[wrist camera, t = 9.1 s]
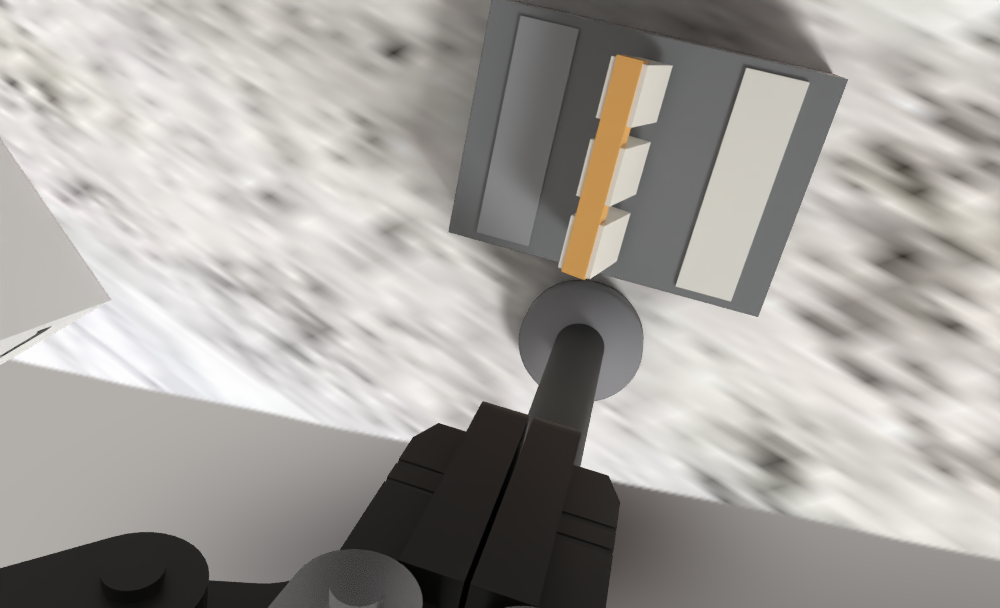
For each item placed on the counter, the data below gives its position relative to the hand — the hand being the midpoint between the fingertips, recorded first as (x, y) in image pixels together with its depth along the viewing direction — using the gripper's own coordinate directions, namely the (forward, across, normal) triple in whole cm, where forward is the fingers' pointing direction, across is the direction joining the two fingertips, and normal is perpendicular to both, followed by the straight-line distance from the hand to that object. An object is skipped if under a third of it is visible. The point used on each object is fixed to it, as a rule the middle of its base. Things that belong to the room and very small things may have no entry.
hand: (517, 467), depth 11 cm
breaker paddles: (+22, 0, 0) cm, 22 cm away
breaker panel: (+25, 0, 0) cm, 25 cm away
